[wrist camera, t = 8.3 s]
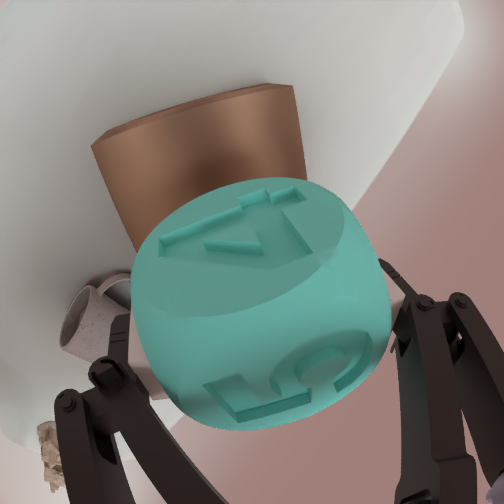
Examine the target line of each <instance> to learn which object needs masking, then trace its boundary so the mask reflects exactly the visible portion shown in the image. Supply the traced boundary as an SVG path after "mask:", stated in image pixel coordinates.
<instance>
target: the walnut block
mask: <svg viewBox="0 0 504 504" xmlns="http://www.w3.org/2000/svg"><path fill="white" fill-rule="evenodd" d="M91 148H92V150H93V153H94V156H95V158H96V161H97V163H98V166H99V169H100V171H101V174H102V176H103V178H104V181H105V183H106V186H107V188H108V190H109V193H110V195H111V198H112V200H113V202H114V204H115V207H116V209H117V211H118V213H119V216H120V218H121V220H122V222H123V224H124V227H125V229H126V231H127V233H128V235H129V237H130V239H131V241H132V243H133V246H134V248H135V250H136V252H137V253H138V251H139V249H140V247H141V245H142V244H143V242H144V241H145V239H146V238H147V237H148V235H149V234H150V233H151V232H152V231H153V229H154V228H155V227H156V226H157V225H158V224H159V223H161V222H162V221H163V220H164V219H165V218H166V217H168V216H169V215H170V214H171V213H173V212H174V211H176V210H177V209H178V208H180V207H182V206H183V205H185V204H186V203H188V202H190V201H192V200H194V199H195V198H197V197H199V196H201V195H204V194H206V193H208V192H210V191H213V190H215V189H218V188H221V187H224V186H227V185H230V184H234V183H238V182H242V181H247V180H252V179H259V178H270V177H285V178H295V179H301V180H306V181H307V174H306V167H305V159H304V152H303V145H302V138H301V132H300V125H299V119H298V113H297V107H296V101H295V95H294V90H293V86H291V85H281V84H270V83H266V84H261V85H256V86H251V87H246V88H242V89H237V90H233V91H229V92H224V93H220V94H216V95H213V96H209V97H205V98H201V99H198V100H194V101H191V102H187V103H184V104H181V105H177V106H174V107H171V108H168V109H165V110H162V111H159V112H156V113H153V114H150V115H147V116H145V117H142V118H139V119H136V120H134V121H131V122H129V123H126V124H123V125H121V126H118V127H116V128H113V129H111V130H109V131H107V132H106V133H104V134H103V135H102V136H101V137H100V138H99V139H98V140H97V141H95V142H94V143H93V144H92V145H91Z"/></svg>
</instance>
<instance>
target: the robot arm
mask: <svg viewBox="0 0 504 504" xmlns="http://www.w3.org/2000/svg"><path fill="white" fill-rule="evenodd" d="M378 261H379V263H380V266H381V269H382V272H383V275H384V278H385V282H386V285H387V289H388V294H389V299H390V306H391V317H392V326H391V332H392V330H393V331H394V333H395V334H396V338H395V340H394V343H393V345H392V347H391V350H390V353H392V352H393V350H394V348H395V350H396V359H397V369H398V380H399V392H400V410H401V444H402V445H401V446H402V448H401V449H402V450H401V451H402V453H401V478H400V481H399V483H398V485H397V488H396V492H395V501H394V504H477V470H476V462H475V459H474V457H473V456H471V455H469V454H467V452H466V447H465V436H464V427H463V420H462V412H461V409H462V411H463V414H464V417H465V420H466V422H467V425H468V428H469V431H470V433H471V436H472V439H473V442H474V445H475V449H476V452H477V455H478V458H479V461H480V465H481V467H482V470H483V473H484V475H485V477H486V479H487V481H488V483H489V485H490V486H491V489H490V490H489V491H488V492H487V495H486V500H487V501H488V502H492V503H493V504H504V352H503V350H502V349H501V347H500V345H499V343H498V341H497V340H496V338H495V336H494V335H493V333H492V331H491V330H490V328H489V326H488V325H487V323H486V322H485V320H484V319H483V317H482V315H481V314H480V312H479V311H478V309H477V308H476V306H475V305H474V303H473V302H472V300H471V299H470V298H469V297H468V296H467V295H465V294H463V293H460V292H455V293H453V294H451V295H450V297H449V300H448V301H442V302H435V301H434V300H433V299H432V298H431V297H429V296H426V295H422V294H420V295H418V294H417V293H416V292H415V291H414V290H413V289H412V288H411V286H410V285H409V284H408V283H407V282H406V281H405V280H404V279H403V278H402V277H400V274H399V273H398V272H396V271H395V269H394V268H393V267H392V266H391V265H390V264H389V263H388V262H386V261H384V260H382V259H378ZM459 333H460V334H461V336H462V339H459V337H458V334H459ZM390 335H391V334H390ZM88 376H89V380H90V381H91V382H92V383H93V385H94V386H95V387H94V388H92V389H90V390H88V391H85V392H83V393H79V392H78V391H77V390H74V389H66V390H64V391H62V392H61V393H60V394H59V395H58V396H57V397H56V399H55V403H54V412H55V423H56V432H57V440H58V447H59V453H60V459H61V465H62V470H63V475H64V480H65V485H66V489H67V493H68V497H69V501H70V504H136V503H135V501H134V498H133V495H132V492H131V490H130V487H129V484H128V481H127V478H126V475H125V472H124V468H123V465H122V462H121V459H120V455H119V452H118V448H117V444H116V441H115V437H114V433H116V432H118V431H120V432H121V434H122V436H123V438H124V439H125V441H126V443H127V445H128V446H129V448H130V450H131V451H132V453H133V455H134V456H135V458H136V459H137V461H138V462H139V464H140V466H141V467H142V469H143V470H144V472H145V473H146V475H147V476H148V478H149V479H150V480H151V482H152V483H153V485H154V486H155V488H156V489H157V490H158V492H159V493H160V494H161V496H162V497H163V499H164V500H165V501H166V503H167V504H229V503H228V502H227V501H226V500H225V499H224V498H223V497H222V495H221V494H220V493H219V492H218V491H217V490H216V489H215V488H214V487H213V486H212V484H211V483H210V482H209V481H208V480H207V479H206V478H205V477H204V475H203V474H202V473H201V472H200V471H199V469H198V468H197V467H196V466H195V465H194V463H193V462H192V461H191V460H190V458H189V457H188V456H187V455H186V453H185V452H184V451H183V450H182V448H181V447H180V446H179V444H178V443H177V442H176V441H175V439H174V438H173V436H172V435H171V434H170V432H169V431H168V430H167V428H166V427H165V425H164V424H163V423H162V421H161V420H160V418H159V417H158V415H157V414H156V412H155V411H154V409H153V408H152V407H151V405H150V401H149V395H150V397H151V398H152V399H153V400H160V399H167V398H169V397H168V395H167V394H166V392H165V391H164V389H163V388H162V386H161V385H160V383H159V381H158V380H157V378H156V376H155V374H154V372H153V370H152V368H151V366H150V364H149V362H148V359H147V357H146V355H145V352H144V350H143V347H142V344H141V341H140V338H139V335H138V331H137V328H136V324H135V320H134V315H133V310H132V303H131V313H127V314H122V315H116V316H115V318H114V320H113V322H112V323H111V327H110V336H109V345H108V355H107V356H103V357H101V358H98V359H97V360H96V361H94V362H93V363H92V365H91V366H90V368H89V372H88Z"/></svg>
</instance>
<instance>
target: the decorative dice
mask: <svg viewBox="0 0 504 504" xmlns="http://www.w3.org/2000/svg"><path fill="white" fill-rule="evenodd" d="M130 294H131V303H132V310H133V315H134V320H135V324H136V328H137V331H138V335H139V338H140V341H141V344H142V347H143V350H144V352H145V355H146V357H147V359H148V362H149V364H150V366H151V368H152V370H153V372H154V374H155V376H156V378H157V380H158V381H159V383H160V385H161V386H162V388H163V389H164V391H165V392H166V394H167V395H168V397H169V398H170V399H171V400H172V402H173V403H174V404H175V405H176V406H177V407H178V408H179V409H180V410H181V411H182V412H183V413H184V414H186V415H187V416H189V417H191V418H192V419H194V420H196V421H198V422H200V423H202V424H204V425H207V426H210V427H214V428H218V429H225V430H239V431H240V430H258V429H265V428H271V427H276V426H280V425H284V424H288V423H291V422H294V421H297V420H300V419H302V418H305V417H308V416H310V415H312V414H315V413H317V412H319V411H321V410H323V409H325V408H327V407H329V406H330V405H332V404H334V403H335V402H337V401H339V400H340V399H341V398H343V397H344V396H346V395H347V394H349V393H350V392H351V391H352V390H354V389H355V388H356V387H357V386H358V385H359V384H361V383H362V382H363V381H364V380H365V379H366V378H367V377H368V376H369V375H370V373H371V372H372V371H373V370H374V368H375V367H376V366H377V365H378V363H379V361H380V360H381V358H382V356H383V354H384V352H385V350H386V347H387V345H388V341H389V338H390V334H391V326H392V317H391V306H390V299H389V294H388V289H387V285H386V282H385V278H384V275H383V272H382V269H381V266H380V263H379V261H378V258H377V256H376V254H375V251H374V249H373V247H372V245H371V243H370V241H369V239H368V237H367V235H366V233H365V231H364V230H363V228H362V226H361V225H360V223H359V222H358V220H357V219H356V217H355V216H354V214H353V213H352V212H351V210H350V209H349V208H348V207H347V206H346V204H345V203H344V202H343V201H342V200H341V199H340V198H339V197H337V196H336V195H335V194H334V193H332V192H330V191H329V190H327V189H325V188H323V187H321V186H320V185H317V184H315V183H312V182H309V181H306V180H301V179H295V178H285V177H270V178H259V179H252V180H247V181H242V182H238V183H234V184H230V185H227V186H224V187H221V188H218V189H215V190H213V191H210V192H208V193H206V194H204V195H201V196H199V197H197V198H195V199H194V200H192V201H190V202H188V203H186V204H185V205H183V206H182V207H180V208H178V209H177V210H176V211H174V212H173V213H171V214H170V215H169V216H168V217H166V218H165V219H164V220H163V221H162V222H161V223H159V224H158V225H157V226H156V227H155V228H154V229H153V231H152V232H151V233H150V234H149V235H148V237H147V238H146V239H145V241H144V242H143V244H142V245H141V247H140V249H139V251H138V253H137V255H136V258H135V261H134V264H133V267H132V270H131V278H130Z"/></svg>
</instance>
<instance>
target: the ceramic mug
mask: <svg viewBox="0 0 504 504" xmlns="http://www.w3.org/2000/svg"><path fill="white" fill-rule="evenodd" d="M130 278H131V274H127V273H122V274H116V275H113V276H111V277H110V278H108V279H107V280H106V281H105V282H103V283H102V284H101V285H100V287H99V288H95V287H93V286H92V285H87V286H85V287H84V288H83V289H82V290H81V291H80V292H79V293H78V294H77V296H76V297H75V298H74V300H73V301H72V303H71V305H70V307H69V309H68V311H67V313H66V315H65V318H64V321H63V324H62V328H61V333H60V342H59V343H60V346H61V348H62V349H63V350H64V351H67V352H69V353H71V354H73V355H76V356H78V357H80V358H82V359H85V360H87V361H89V362H92V363H93V362H94V361H96V360H97V359H98V358H101V357H103V356H107V355H108V345H109V336H110V327H111V323H112V322H113V320H114V318H115V316H116V315H122V314H127V313H131V312H130V311H129V310H127V309H126V308H124V307H122V306H120V305H119V304H117V303H116V302H115V301H113V300H112V299H111V298H109V297H108V296H107V295H105V294H103V293H104V292H105V291H106V290H107V289H108V288H109V287H111V286H112V285H114V284H116V283H119V282H125V281H130Z"/></svg>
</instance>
